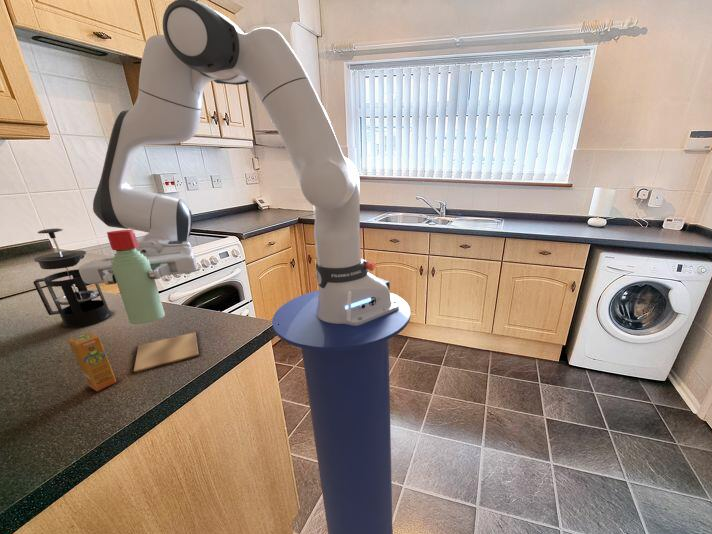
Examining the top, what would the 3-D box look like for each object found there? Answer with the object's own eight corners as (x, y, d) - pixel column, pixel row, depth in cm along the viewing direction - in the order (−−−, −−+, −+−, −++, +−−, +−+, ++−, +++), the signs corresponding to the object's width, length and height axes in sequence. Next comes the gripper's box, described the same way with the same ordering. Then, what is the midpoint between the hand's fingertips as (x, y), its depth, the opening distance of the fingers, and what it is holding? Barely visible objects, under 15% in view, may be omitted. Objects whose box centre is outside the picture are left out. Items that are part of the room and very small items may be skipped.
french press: (117, 307, 92) (85, 223, 83) (110, 321, 85) (74, 230, 75) (61, 317, 87) (19, 228, 78) (48, 332, 79) (1, 236, 70)
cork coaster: (195, 333, 79) (195, 332, 79) (198, 355, 70) (198, 354, 70) (138, 346, 74) (138, 345, 73) (134, 372, 65) (133, 370, 65)
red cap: (139, 245, 68) (134, 229, 67) (137, 248, 64) (131, 231, 63) (114, 248, 66) (108, 231, 65) (110, 251, 62) (104, 233, 61)
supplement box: (97, 392, 60) (74, 344, 56) (88, 386, 61) (66, 339, 57) (118, 382, 62) (98, 335, 58) (109, 376, 64) (89, 330, 60)
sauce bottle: (165, 310, 74) (141, 230, 68) (164, 319, 69) (138, 233, 63) (131, 317, 71) (103, 233, 65) (128, 326, 66) (97, 237, 60)
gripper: (90, 250, 73) (57, 269, 61) (197, 240, 79) (186, 256, 67) (101, 277, 75) (72, 301, 63) (203, 266, 82) (194, 285, 70)
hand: (131, 278), depth 65 cm, fingers closed on sauce bottle, 6 cm apart
